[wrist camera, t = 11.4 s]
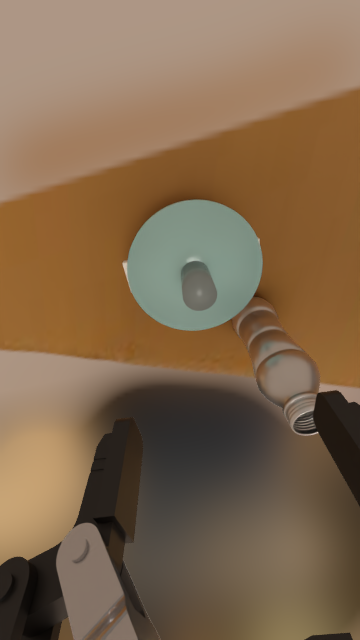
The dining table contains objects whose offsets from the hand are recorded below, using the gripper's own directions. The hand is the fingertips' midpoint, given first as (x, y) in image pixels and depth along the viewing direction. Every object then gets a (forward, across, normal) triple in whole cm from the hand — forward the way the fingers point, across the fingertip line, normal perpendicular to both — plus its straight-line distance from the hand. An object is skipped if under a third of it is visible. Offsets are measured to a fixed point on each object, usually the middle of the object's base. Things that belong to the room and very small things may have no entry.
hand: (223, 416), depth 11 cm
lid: (+18, 0, 0) cm, 18 cm away
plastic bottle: (+26, -8, +11) cm, 30 cm away
